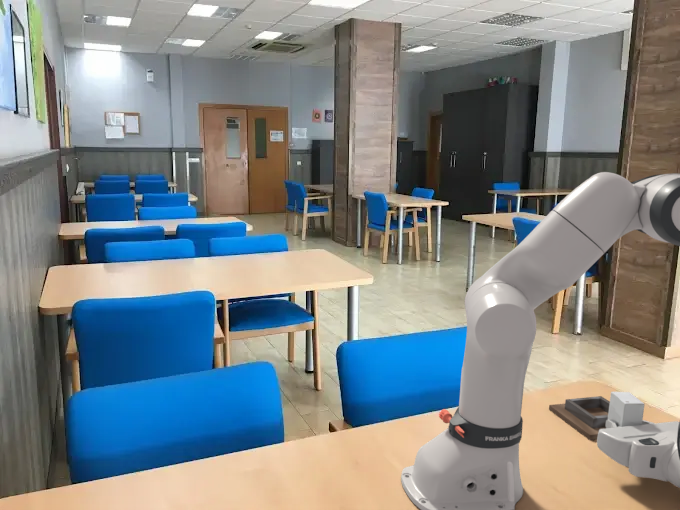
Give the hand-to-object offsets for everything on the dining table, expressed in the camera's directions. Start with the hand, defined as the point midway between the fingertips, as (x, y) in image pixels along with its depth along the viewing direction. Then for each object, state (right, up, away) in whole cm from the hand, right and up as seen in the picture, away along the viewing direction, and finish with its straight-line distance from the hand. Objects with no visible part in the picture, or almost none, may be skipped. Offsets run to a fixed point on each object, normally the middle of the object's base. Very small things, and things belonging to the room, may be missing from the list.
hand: (620, 421), depth 118 cm
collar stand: (+2, -4, +15) cm, 16 cm away
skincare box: (0, -6, 0) cm, 6 cm away
